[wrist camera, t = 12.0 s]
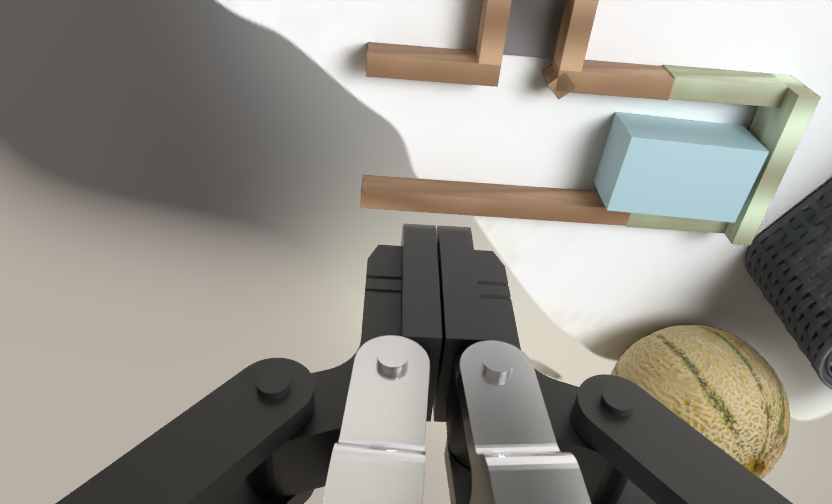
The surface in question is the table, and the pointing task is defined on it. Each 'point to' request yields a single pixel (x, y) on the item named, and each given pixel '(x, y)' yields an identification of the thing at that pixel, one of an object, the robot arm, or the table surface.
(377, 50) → the maze
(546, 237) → the table surface
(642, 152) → the block
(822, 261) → the storage bin
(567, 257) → the table surface
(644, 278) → the table surface
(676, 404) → the cantaloupe
